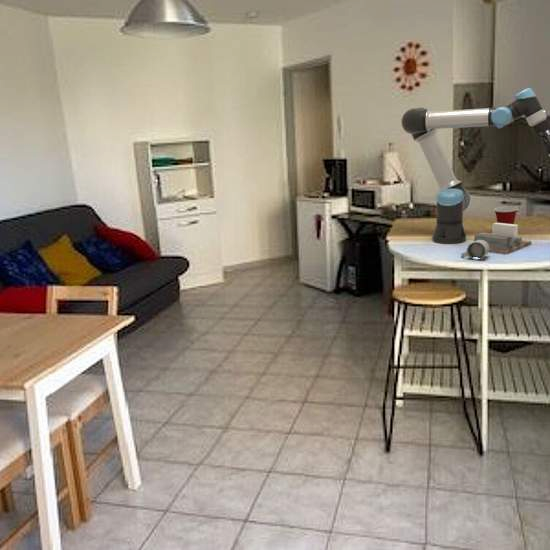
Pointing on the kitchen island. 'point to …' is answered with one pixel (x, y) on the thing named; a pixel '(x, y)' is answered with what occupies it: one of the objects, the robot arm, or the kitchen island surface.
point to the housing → (502, 242)
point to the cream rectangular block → (505, 229)
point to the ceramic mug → (477, 249)
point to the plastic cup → (506, 214)
